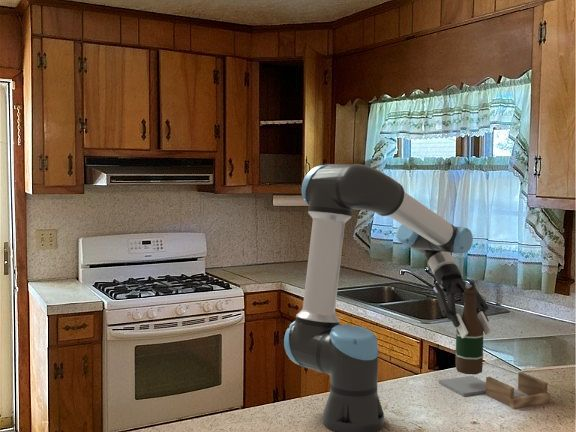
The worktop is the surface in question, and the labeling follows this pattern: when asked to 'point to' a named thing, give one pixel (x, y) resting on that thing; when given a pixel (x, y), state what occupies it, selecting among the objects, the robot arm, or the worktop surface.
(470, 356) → the beer bottle
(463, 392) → the coaster
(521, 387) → the cradle
